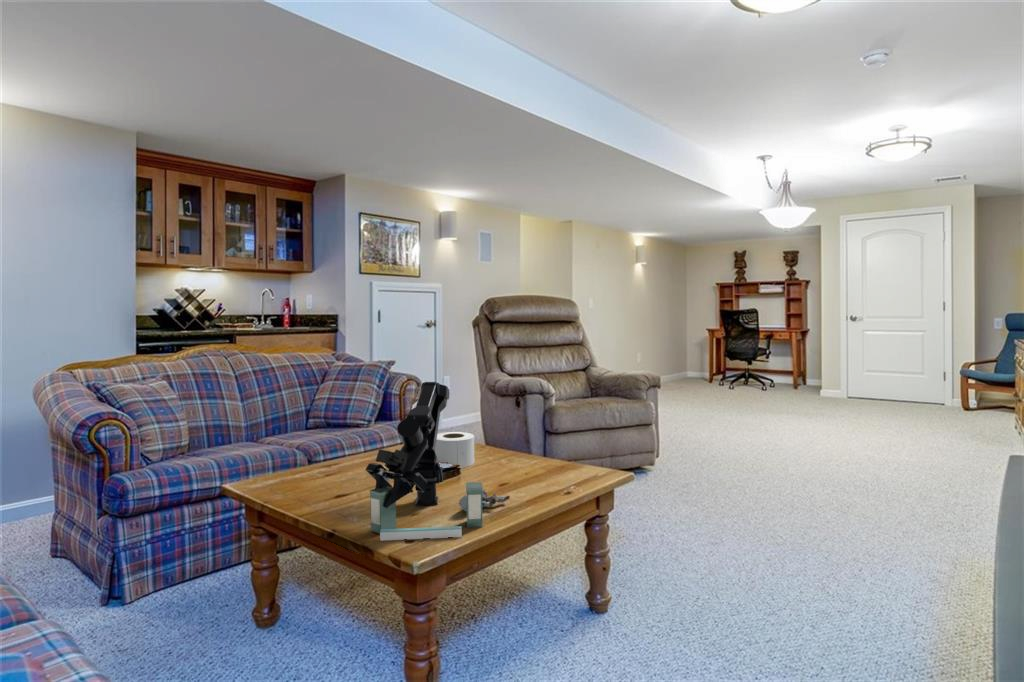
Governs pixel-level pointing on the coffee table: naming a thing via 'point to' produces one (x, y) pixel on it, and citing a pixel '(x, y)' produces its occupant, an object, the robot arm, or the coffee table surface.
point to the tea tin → (382, 510)
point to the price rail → (420, 533)
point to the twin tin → (474, 504)
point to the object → (455, 448)
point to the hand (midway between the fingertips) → (378, 505)
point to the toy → (483, 500)
